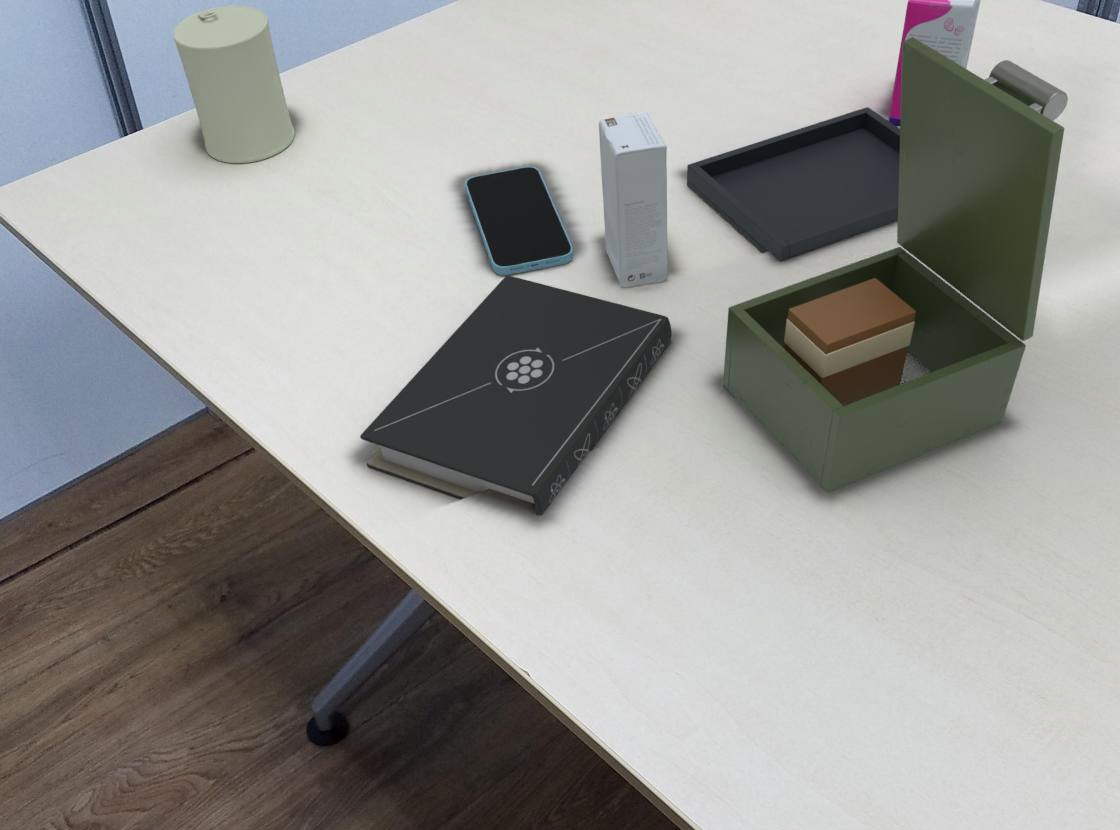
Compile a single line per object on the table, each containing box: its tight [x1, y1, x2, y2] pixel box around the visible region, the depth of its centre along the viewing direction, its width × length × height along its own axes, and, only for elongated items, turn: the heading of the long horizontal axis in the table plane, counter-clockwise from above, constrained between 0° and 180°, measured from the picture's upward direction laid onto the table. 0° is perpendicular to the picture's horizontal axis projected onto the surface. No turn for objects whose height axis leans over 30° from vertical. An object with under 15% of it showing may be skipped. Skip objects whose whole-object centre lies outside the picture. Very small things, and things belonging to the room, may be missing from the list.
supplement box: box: [887, 0, 981, 126], centre depth 108 cm, size 6×6×12 cm
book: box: [360, 274, 673, 516], centre depth 88 cm, size 22×15×3 cm
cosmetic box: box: [598, 111, 669, 288], centre depth 95 cm, size 6×4×12 cm
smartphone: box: [464, 166, 574, 276], centre depth 105 cm, size 7×1×15 cm
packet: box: [784, 278, 916, 407], centre depth 81 cm, size 7×5×9 cm, turn 115°
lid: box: [896, 37, 1069, 342], centre depth 75 cm, size 16×14×5 cm
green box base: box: [722, 246, 1027, 493], centre depth 83 cm, size 15×14×8 cm
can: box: [172, 5, 296, 164], centre depth 115 cm, size 9×9×12 cm
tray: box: [686, 106, 900, 262], centre depth 104 cm, size 20×16×2 cm
